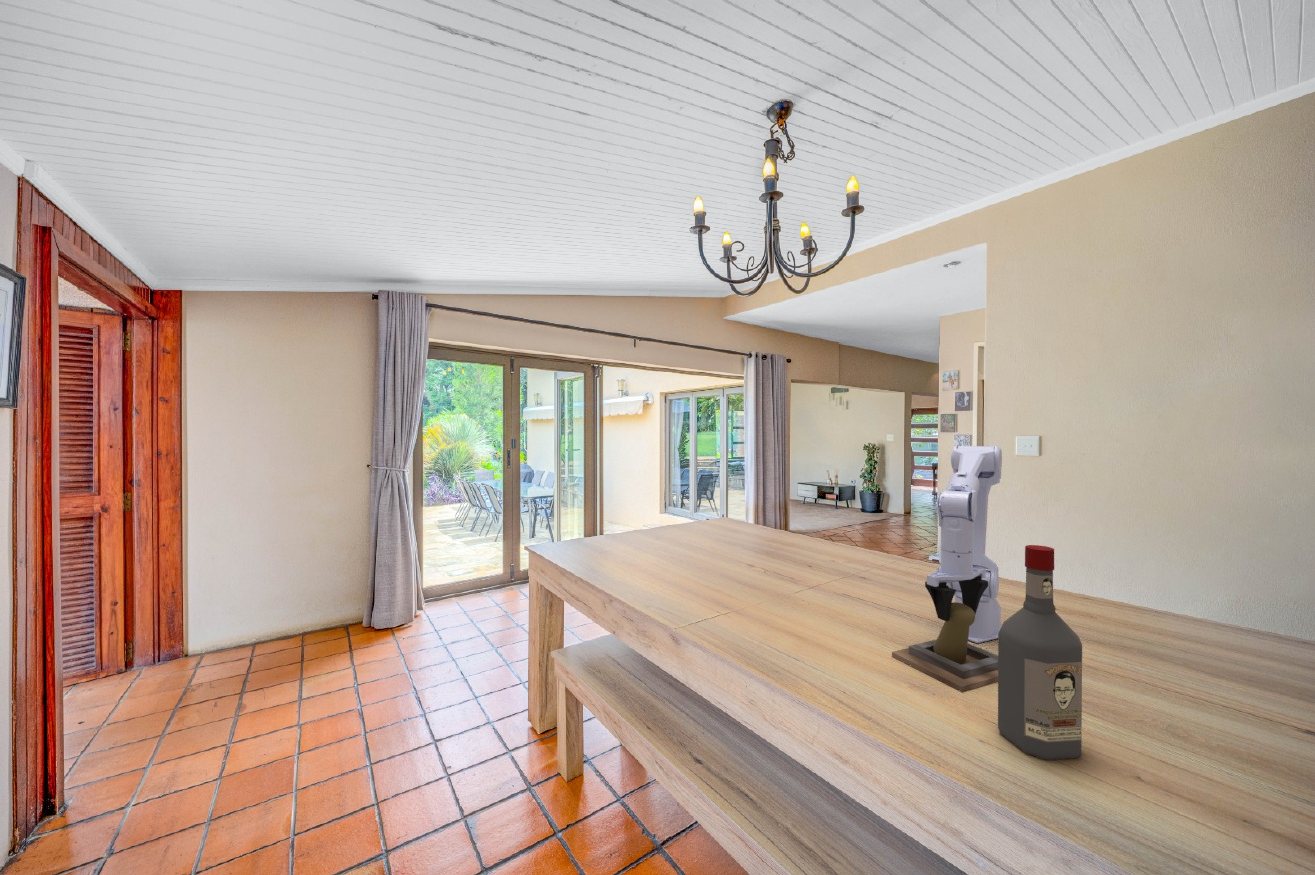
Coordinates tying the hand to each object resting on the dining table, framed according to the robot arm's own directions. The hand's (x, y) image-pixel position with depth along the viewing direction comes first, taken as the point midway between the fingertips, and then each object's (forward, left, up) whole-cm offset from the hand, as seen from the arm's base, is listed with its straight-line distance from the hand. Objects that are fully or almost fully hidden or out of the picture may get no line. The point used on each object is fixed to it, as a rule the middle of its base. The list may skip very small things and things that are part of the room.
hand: (956, 616), depth 106 cm
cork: (0, -1, -8) cm, 8 cm away
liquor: (+12, +23, -10) cm, 28 cm away
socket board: (0, 0, -10) cm, 10 cm away
